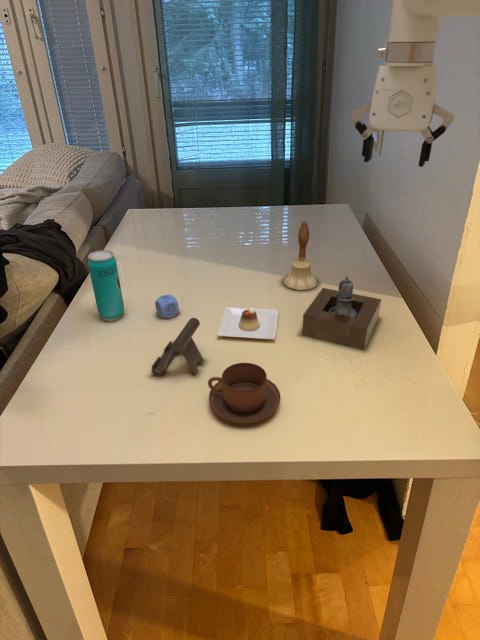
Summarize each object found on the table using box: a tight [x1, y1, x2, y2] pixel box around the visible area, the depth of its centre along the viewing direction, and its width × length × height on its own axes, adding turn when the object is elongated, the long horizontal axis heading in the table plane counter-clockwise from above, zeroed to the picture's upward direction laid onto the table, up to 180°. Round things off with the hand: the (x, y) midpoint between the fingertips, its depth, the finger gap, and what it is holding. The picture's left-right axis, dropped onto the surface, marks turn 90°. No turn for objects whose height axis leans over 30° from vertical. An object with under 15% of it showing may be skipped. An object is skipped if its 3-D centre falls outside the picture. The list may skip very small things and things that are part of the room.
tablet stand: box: [151, 317, 205, 377], centre depth 87 cm, size 9×8×8 cm
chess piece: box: [329, 276, 357, 318], centre depth 97 cm, size 6×6×12 cm
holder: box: [301, 287, 382, 350], centre depth 98 cm, size 13×13×5 cm
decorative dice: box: [154, 294, 180, 320], centre depth 105 cm, size 4×4×4 cm
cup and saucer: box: [207, 362, 281, 424], centre depth 78 cm, size 12×12×6 cm
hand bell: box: [283, 220, 318, 291], centre depth 114 cm, size 8×8×16 cm
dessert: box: [216, 306, 280, 340], centre depth 99 cm, size 12×12×5 cm
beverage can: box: [87, 249, 125, 322], centre depth 101 cm, size 6×6×15 cm
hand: (394, 162), depth 85 cm, fingers open, 9 cm apart
